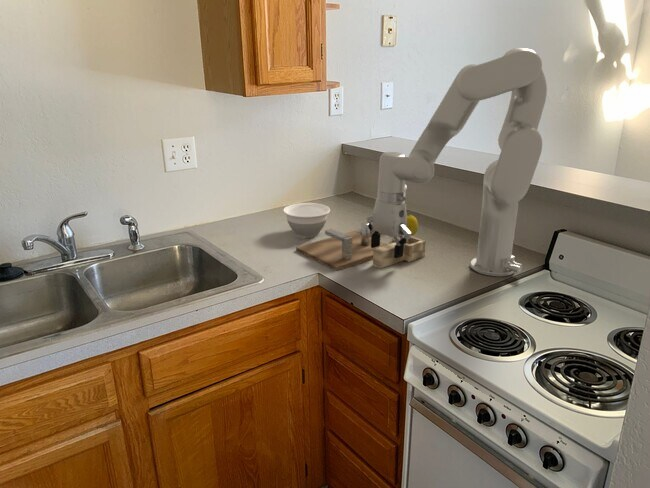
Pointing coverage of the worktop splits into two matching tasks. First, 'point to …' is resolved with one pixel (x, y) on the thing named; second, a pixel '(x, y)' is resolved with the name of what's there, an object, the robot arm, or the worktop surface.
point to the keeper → (345, 242)
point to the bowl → (306, 218)
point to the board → (338, 251)
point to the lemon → (412, 224)
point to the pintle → (365, 234)
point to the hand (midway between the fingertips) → (386, 251)
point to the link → (410, 252)
